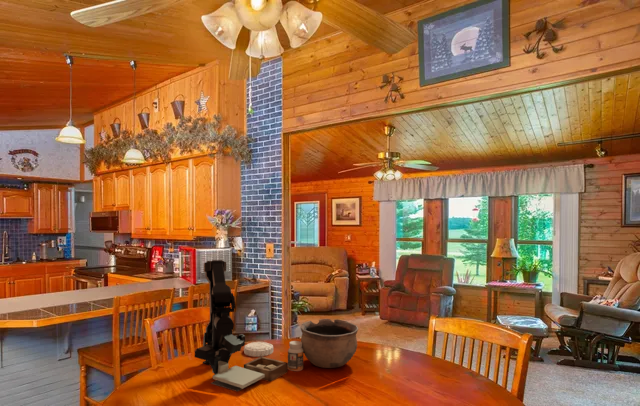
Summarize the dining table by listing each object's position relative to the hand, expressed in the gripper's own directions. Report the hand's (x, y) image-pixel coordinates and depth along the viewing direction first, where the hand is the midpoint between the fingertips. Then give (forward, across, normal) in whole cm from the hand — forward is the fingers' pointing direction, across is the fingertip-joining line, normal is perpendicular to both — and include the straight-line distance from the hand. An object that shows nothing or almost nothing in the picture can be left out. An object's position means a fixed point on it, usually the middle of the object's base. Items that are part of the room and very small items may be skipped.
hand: (219, 372), depth 145 cm
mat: (+2, 0, -6) cm, 7 cm away
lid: (+1, 0, -7) cm, 7 cm away
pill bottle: (+3, +22, -16) cm, 28 cm away
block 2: (+2, +13, -12) cm, 18 cm away
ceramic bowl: (+3, +33, -24) cm, 41 cm away
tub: (+2, +12, -10) cm, 16 cm away
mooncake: (+3, +29, +6) cm, 30 cm away
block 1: (+2, +11, -9) cm, 14 cm away
